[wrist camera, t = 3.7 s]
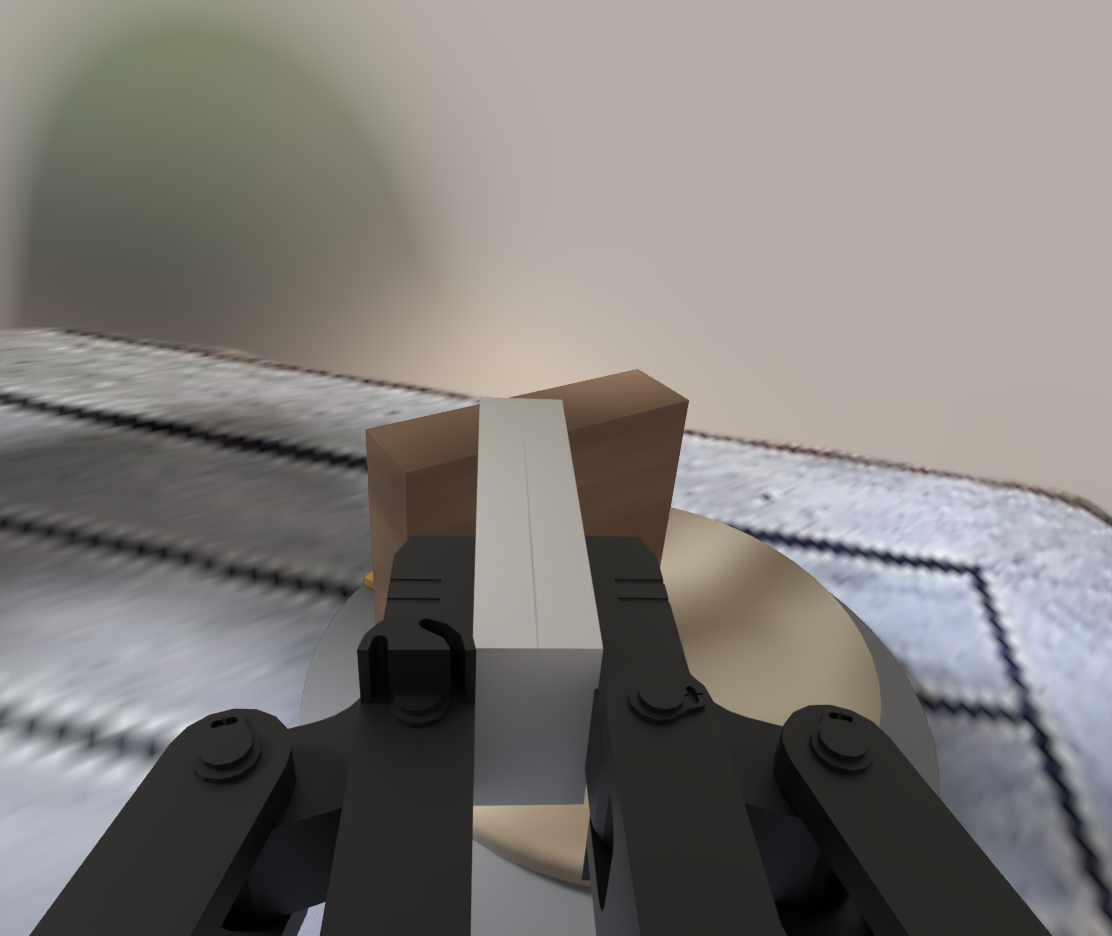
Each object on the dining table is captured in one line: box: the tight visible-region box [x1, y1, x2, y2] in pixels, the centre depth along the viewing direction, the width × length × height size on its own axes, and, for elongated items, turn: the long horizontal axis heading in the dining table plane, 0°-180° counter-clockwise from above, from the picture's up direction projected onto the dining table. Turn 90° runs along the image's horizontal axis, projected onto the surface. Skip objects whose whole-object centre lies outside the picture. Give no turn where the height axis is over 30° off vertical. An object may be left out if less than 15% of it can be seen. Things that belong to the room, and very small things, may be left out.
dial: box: [366, 369, 881, 887], centre depth 28 cm, size 18×18×12 cm
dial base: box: [301, 570, 939, 936], centre depth 32 cm, size 23×23×2 cm
